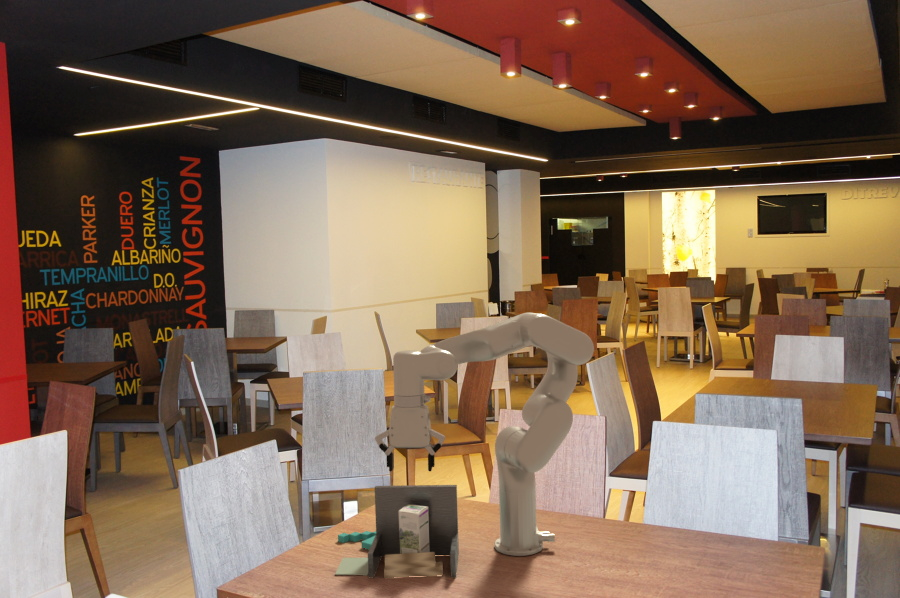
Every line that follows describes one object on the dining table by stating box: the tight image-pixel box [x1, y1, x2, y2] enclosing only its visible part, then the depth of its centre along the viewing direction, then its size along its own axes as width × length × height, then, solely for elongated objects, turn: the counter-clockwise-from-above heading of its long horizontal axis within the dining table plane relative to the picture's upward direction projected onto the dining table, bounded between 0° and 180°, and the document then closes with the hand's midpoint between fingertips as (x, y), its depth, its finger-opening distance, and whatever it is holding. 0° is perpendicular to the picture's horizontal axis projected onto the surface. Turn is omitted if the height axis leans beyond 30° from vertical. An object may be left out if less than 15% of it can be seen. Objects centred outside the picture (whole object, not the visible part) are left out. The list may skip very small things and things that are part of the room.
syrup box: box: [399, 504, 430, 554], centre depth 186 cm, size 6×6×14 cm
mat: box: [334, 556, 369, 576], centre depth 186 cm, size 8×10×1 cm
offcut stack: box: [383, 552, 444, 579], centre depth 181 cm, size 14×3×5 cm, turn 91°
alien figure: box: [337, 530, 376, 550], centre depth 206 cm, size 20×2×20 cm
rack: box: [367, 484, 460, 579], centre depth 186 cm, size 21×14×18 cm
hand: (410, 469), depth 185 cm, fingers open, 9 cm apart
